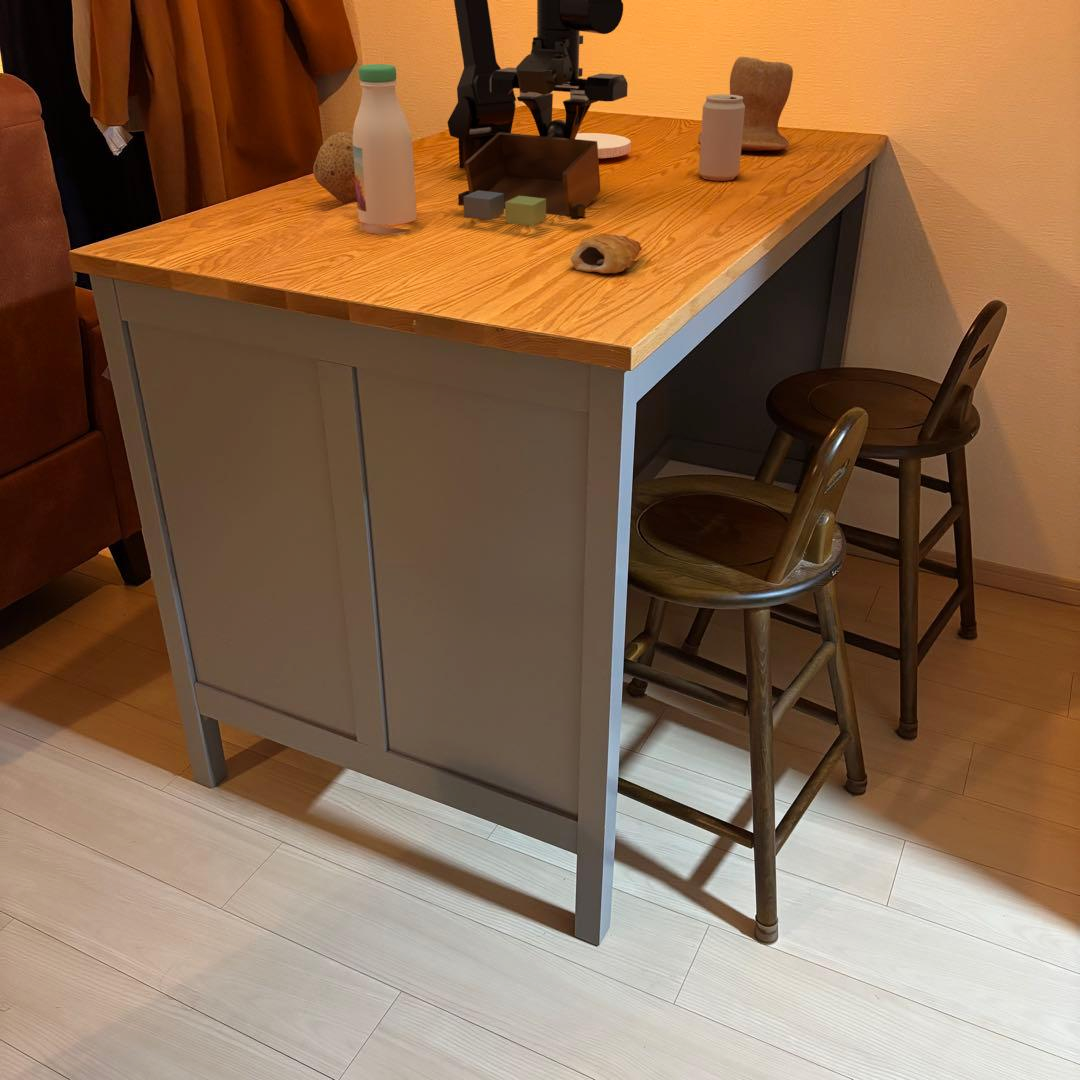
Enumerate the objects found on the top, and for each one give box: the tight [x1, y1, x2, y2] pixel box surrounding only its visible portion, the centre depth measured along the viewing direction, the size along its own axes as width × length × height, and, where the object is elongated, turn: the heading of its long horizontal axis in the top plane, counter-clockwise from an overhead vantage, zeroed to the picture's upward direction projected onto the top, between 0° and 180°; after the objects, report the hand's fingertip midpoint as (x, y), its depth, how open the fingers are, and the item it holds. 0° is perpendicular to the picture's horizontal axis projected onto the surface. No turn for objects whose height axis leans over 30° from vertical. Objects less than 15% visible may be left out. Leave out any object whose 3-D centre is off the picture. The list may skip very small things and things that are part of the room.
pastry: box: [570, 233, 642, 274], centre depth 128 cm, size 9×7×4 cm
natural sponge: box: [312, 131, 357, 205], centre depth 151 cm, size 9×9×10 cm
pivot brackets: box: [457, 190, 587, 221], centre depth 146 cm, size 19×2×3 cm, turn 64°
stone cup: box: [697, 56, 794, 152], centre depth 186 cm, size 15×12×15 cm
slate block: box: [463, 190, 505, 221], centre depth 144 cm, size 4×4×4 cm
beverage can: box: [698, 93, 745, 182], centre depth 167 cm, size 6×6×12 cm
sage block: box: [504, 196, 547, 227], centre depth 141 cm, size 4×4×4 cm
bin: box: [465, 119, 602, 218], centre depth 149 cm, size 15×15×8 cm
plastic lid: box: [575, 132, 632, 159], centre depth 183 cm, size 14×14×2 cm
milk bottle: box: [352, 63, 418, 235], centre depth 138 cm, size 8×8×20 cm
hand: (557, 149), depth 152 cm, fingers closed on bin, 3 cm apart
